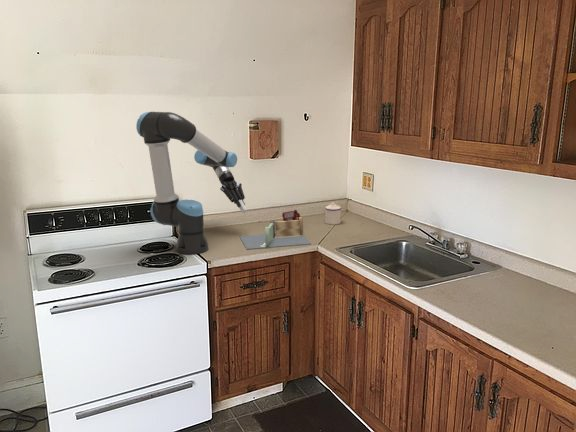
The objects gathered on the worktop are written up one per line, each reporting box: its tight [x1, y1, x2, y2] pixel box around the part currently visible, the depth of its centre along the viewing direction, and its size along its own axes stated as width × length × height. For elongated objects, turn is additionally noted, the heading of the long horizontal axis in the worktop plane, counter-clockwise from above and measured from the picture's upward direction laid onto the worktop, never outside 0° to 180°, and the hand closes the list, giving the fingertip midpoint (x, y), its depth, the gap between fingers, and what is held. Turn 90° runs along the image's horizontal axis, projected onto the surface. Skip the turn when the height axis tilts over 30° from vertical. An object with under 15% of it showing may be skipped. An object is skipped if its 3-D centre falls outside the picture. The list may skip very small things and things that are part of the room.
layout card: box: [239, 232, 312, 251], centre depth 254 cm, size 32×22×1 cm
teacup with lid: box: [324, 202, 342, 226], centre depth 286 cm, size 12×9×12 cm
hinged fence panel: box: [264, 222, 273, 246], centre depth 248 cm, size 14×2×9 cm, turn 172°
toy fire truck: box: [281, 209, 302, 221], centre depth 273 cm, size 7×12×10 cm, turn 127°
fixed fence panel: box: [269, 216, 304, 238], centre depth 258 cm, size 17×2×10 cm, turn 104°
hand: (244, 211), depth 259 cm, fingers closed
